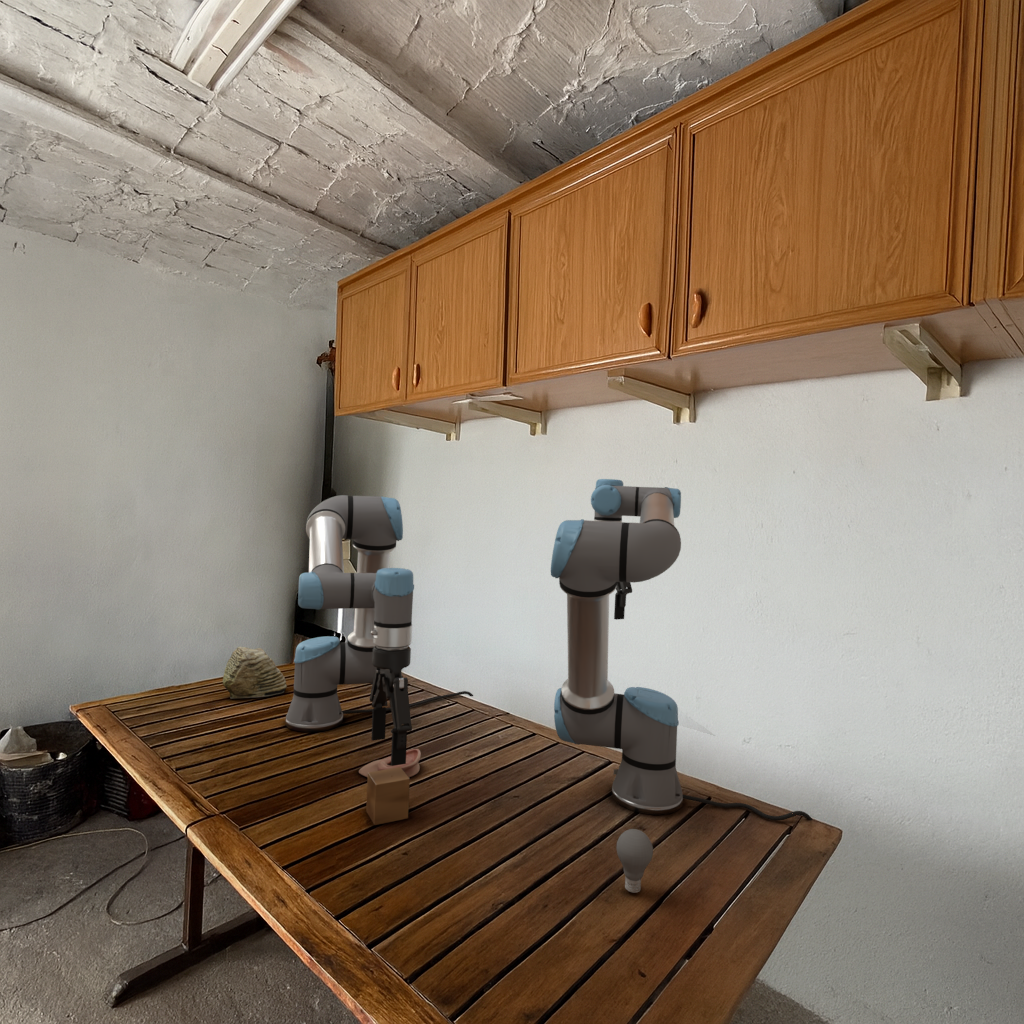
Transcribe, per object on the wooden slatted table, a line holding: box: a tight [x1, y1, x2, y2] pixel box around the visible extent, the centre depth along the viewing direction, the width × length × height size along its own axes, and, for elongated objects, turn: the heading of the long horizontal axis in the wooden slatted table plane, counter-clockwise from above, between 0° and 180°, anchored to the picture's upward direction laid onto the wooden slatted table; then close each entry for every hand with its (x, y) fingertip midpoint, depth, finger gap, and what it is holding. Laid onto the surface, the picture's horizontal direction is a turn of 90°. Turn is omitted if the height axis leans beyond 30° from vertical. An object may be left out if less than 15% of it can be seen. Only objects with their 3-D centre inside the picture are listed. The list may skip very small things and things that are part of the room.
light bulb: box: [615, 828, 654, 894], centre depth 106 cm, size 6×6×10 cm
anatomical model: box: [358, 748, 422, 779], centre depth 147 cm, size 13×4×12 cm
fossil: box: [222, 646, 288, 699], centre depth 198 cm, size 9×18×15 cm, turn 132°
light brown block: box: [365, 767, 411, 826], centre depth 127 cm, size 6×7×8 cm
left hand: (387, 751), depth 127 cm, fingers open, 13 cm apart
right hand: (603, 614), depth 172 cm, fingers open, 13 cm apart
